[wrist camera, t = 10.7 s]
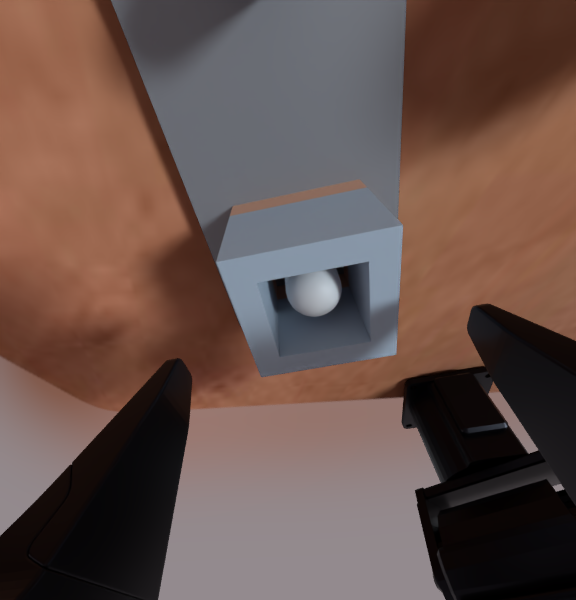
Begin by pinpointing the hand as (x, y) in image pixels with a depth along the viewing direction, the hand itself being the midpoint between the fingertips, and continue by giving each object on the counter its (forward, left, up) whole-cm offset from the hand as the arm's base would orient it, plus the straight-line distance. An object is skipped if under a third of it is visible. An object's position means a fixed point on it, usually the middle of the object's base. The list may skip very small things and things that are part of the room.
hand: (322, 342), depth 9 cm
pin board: (+5, 0, -7) cm, 9 cm away
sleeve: (0, 0, -6) cm, 7 cm away
